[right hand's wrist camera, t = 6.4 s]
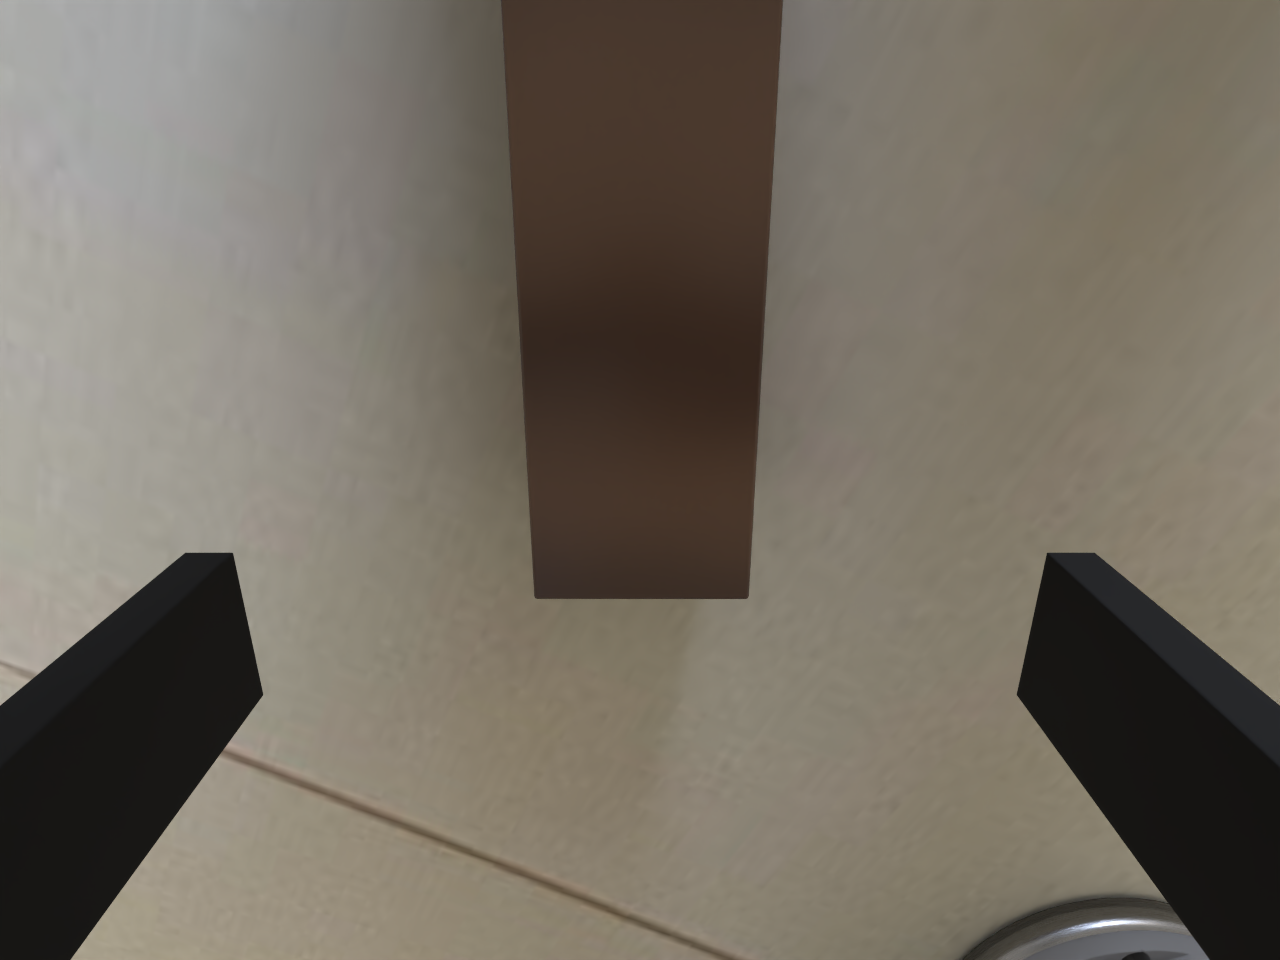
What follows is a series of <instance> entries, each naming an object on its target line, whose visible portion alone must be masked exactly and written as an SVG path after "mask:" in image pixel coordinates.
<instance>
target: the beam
mask: <svg viewBox="0 0 1280 960" xmlns="http://www.w3.org/2000/svg"><path fill="white" fill-rule="evenodd" d="M501 7H502V25H503V43H504V61H505V79H506V97H507V115H508V133H509V151H510V169H511V186H512V204H513V222H514V240H515V258H516V276H517V294H518V312H519V330H520V348H521V365H522V383H523V401H524V419H525V437H526V455H527V473H528V491H529V509H530V527H531V545H532V562H533V580H534V596H535V598H537V599H747V598H748V596H749V582H750V564H751V547H752V529H753V512H754V495H755V477H756V460H757V442H758V425H759V408H760V390H761V373H762V355H763V338H764V321H765V303H766V286H767V268H768V251H769V233H770V216H771V199H772V181H773V164H774V146H775V129H776V112H777V94H778V77H779V59H780V42H781V25H782V7H783V0H501Z"/></svg>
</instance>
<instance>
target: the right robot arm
mask: <svg viewBox="0 0 1280 960" xmlns="http://www.w3.org/2000/svg"><path fill="white" fill-rule="evenodd" d="M262 696H263V691H262V687H261V682H260V677H259V673H258V668H257V663H256V659H255V654H254V649H253V645H252V640H251V635H250V631H249V626H248V621H247V617H246V612H245V607H244V603H243V598H242V593H241V589H240V584H239V579H238V575H237V570H236V565H235V561H234V556H233V553H185V554H183V555H182V556H181V557H180V558H179V559H177V560H176V561H175V562H174V563H172V564H171V565H170V566H169V567H168V568H166V569H165V570H164V571H163V572H162V573H160V574H159V575H158V576H157V577H156V578H154V579H153V580H152V581H151V582H149V583H148V584H147V585H146V586H145V587H143V588H142V589H141V590H140V591H139V592H137V593H136V594H135V595H134V596H133V597H131V598H130V599H129V600H128V601H126V602H125V603H124V604H123V605H122V606H120V607H119V608H118V609H117V610H116V611H114V612H113V613H112V614H111V615H110V616H108V617H107V618H106V619H105V620H103V621H102V622H101V623H100V624H99V625H97V626H96V627H95V628H94V629H93V630H91V631H90V632H89V633H88V634H86V635H85V636H84V637H83V638H82V639H80V640H79V641H78V642H77V643H76V644H74V645H73V646H72V647H71V648H70V649H68V650H67V651H66V652H65V653H63V654H62V655H61V656H60V657H59V658H57V659H56V660H55V661H54V662H53V663H51V664H50V665H49V666H48V667H47V668H45V669H44V670H43V671H42V672H40V673H39V674H38V675H37V676H36V677H34V678H33V679H32V680H31V681H30V682H28V683H27V684H26V685H25V686H24V687H22V688H21V689H20V690H19V691H17V692H16V693H15V694H14V695H13V696H11V697H10V698H9V699H8V700H7V701H5V702H4V703H3V704H2V705H1V706H0V960H71V958H72V957H73V955H74V954H75V953H76V951H77V950H78V949H79V947H80V946H81V944H82V943H83V942H84V940H85V939H86V938H87V936H88V935H89V933H90V932H91V931H92V929H93V928H94V927H95V925H96V924H97V922H98V921H99V920H100V918H101V917H102V916H103V914H104V913H105V911H106V910H107V909H108V907H109V906H110V905H111V903H112V902H113V900H114V899H115V898H116V896H117V895H118V894H119V892H120V891H121V889H122V888H123V887H124V885H125V884H126V883H127V881H128V880H129V879H130V877H131V876H132V874H133V873H134V872H135V870H136V869H137V868H138V866H139V865H140V863H141V862H142V861H143V859H144V858H145V857H146V855H147V854H148V852H149V851H150V850H151V848H152V847H153V846H154V844H155V843H156V841H157V840H158V839H159V837H160V836H161V835H162V833H163V832H164V830H165V829H166V828H167V826H168V825H169V824H170V822H171V821H172V819H173V818H174V817H175V815H176V814H177V813H178V811H179V810H180V808H181V807H182V806H183V804H184V803H185V802H186V800H187V799H188V797H189V796H190V795H191V793H192V792H193V791H194V789H195V788H196V786H197V785H198V784H199V782H200V781H201V780H202V778H203V777H204V775H205V774H206V773H207V771H208V770H209V769H210V767H211V766H212V765H213V763H214V762H215V760H216V759H217V758H218V756H219V755H220V754H221V752H222V751H223V749H224V748H225V747H226V745H227V744H228V743H229V741H230V740H231V738H232V737H233V736H234V734H235V733H236V732H237V730H238V729H239V727H240V726H241V725H242V723H243V722H244V721H245V719H246V718H247V716H248V715H249V714H250V712H251V711H252V710H253V708H254V707H255V705H256V704H257V703H258V701H259V700H260V699H261V697H262ZM1017 696H1018V697H1019V699H1020V700H1021V701H1022V703H1023V704H1024V705H1025V707H1026V708H1027V710H1028V711H1029V712H1030V714H1031V715H1032V716H1033V718H1034V719H1035V721H1036V722H1037V723H1038V725H1039V726H1040V727H1041V729H1042V730H1043V732H1044V733H1045V734H1046V736H1047V737H1048V738H1049V740H1050V741H1051V743H1052V744H1053V745H1054V747H1055V748H1056V749H1057V751H1058V752H1059V754H1060V755H1061V756H1062V758H1063V759H1064V760H1065V762H1066V763H1067V765H1068V766H1069V767H1070V769H1071V770H1072V771H1073V773H1074V774H1075V775H1076V777H1077V778H1078V780H1079V781H1080V782H1081V784H1082V785H1083V786H1084V788H1085V789H1086V791H1087V792H1088V793H1089V795H1090V796H1091V797H1092V799H1093V800H1094V802H1095V803H1096V804H1097V806H1098V807H1099V808H1100V810H1101V811H1102V813H1103V814H1104V815H1105V817H1106V818H1107V819H1108V821H1109V822H1110V824H1111V825H1112V826H1113V828H1114V829H1115V830H1116V832H1117V833H1118V835H1119V836H1120V837H1121V839H1122V840H1123V841H1124V843H1125V844H1126V846H1127V847H1128V848H1129V850H1130V851H1131V852H1132V854H1133V855H1134V857H1135V858H1136V859H1137V861H1138V862H1139V863H1140V865H1141V866H1142V868H1143V869H1144V870H1145V872H1146V873H1147V874H1148V876H1149V877H1150V879H1151V880H1152V881H1153V883H1154V884H1155V885H1156V887H1157V888H1158V889H1159V891H1160V892H1161V894H1162V895H1163V896H1164V898H1165V899H1166V900H1167V902H1168V903H1169V904H1168V903H1164V902H1159V901H1154V900H1146V899H1137V898H1104V899H1094V900H1086V901H1080V902H1074V903H1070V904H1066V905H1061V906H1057V907H1054V908H1051V909H1047V910H1044V911H1041V912H1039V913H1036V914H1033V915H1031V916H1028V917H1026V918H1024V919H1022V920H1019V921H1017V922H1015V923H1013V924H1011V925H1009V926H1007V927H1006V928H1004V929H1002V930H1000V931H999V932H997V933H996V934H994V935H993V936H991V937H990V938H988V939H986V940H985V941H984V942H983V943H981V944H980V945H979V946H977V947H976V948H975V949H974V950H973V951H972V952H971V953H970V954H968V955H967V956H966V957H965V958H964V959H963V960H1280V706H1279V705H1278V704H1277V703H1276V702H1275V701H1273V700H1272V699H1271V698H1270V697H1269V696H1267V695H1266V694H1265V693H1264V692H1263V691H1261V690H1260V689H1259V688H1258V687H1256V686H1255V685H1254V684H1253V683H1252V682H1250V681H1249V680H1248V679H1247V678H1246V677H1244V676H1243V675H1242V674H1241V673H1240V672H1238V671H1237V670H1236V669H1235V668H1233V667H1232V666H1231V665H1230V664H1229V663H1227V662H1226V661H1225V660H1224V659H1223V658H1221V657H1220V656H1219V655H1218V654H1217V653H1215V652H1214V651H1213V650H1212V649H1210V648H1209V647H1208V646H1207V645H1206V644H1204V643H1203V642H1202V641H1201V640H1200V639H1198V638H1197V637H1196V636H1195V635H1194V634H1192V633H1191V632H1190V631H1189V630H1187V629H1186V628H1185V627H1184V626H1183V625H1181V624H1180V623H1179V622H1178V621H1177V620H1175V619H1174V618H1173V617H1172V616H1170V615H1169V614H1168V613H1167V612H1166V611H1164V610H1163V609H1162V608H1161V607H1160V606H1158V605H1157V604H1156V603H1155V602H1154V601H1152V600H1151V599H1150V598H1149V597H1147V596H1146V595H1145V594H1144V593H1143V592H1141V591H1140V590H1139V589H1138V588H1137V587H1135V586H1134V585H1133V584H1132V583H1131V582H1129V581H1128V580H1127V579H1126V578H1124V577H1123V576H1122V575H1121V574H1120V573H1118V572H1117V571H1116V570H1115V569H1114V568H1112V567H1111V566H1110V565H1109V564H1108V563H1106V562H1105V561H1104V560H1103V559H1101V558H1100V557H1099V556H1098V555H1097V554H1095V553H1047V556H1046V561H1045V565H1044V570H1043V575H1042V579H1041V584H1040V589H1039V593H1038V598H1037V603H1036V607H1035V612H1034V617H1033V621H1032V626H1031V631H1030V635H1029V640H1028V645H1027V649H1026V654H1025V659H1024V663H1023V668H1022V673H1021V677H1020V682H1019V687H1018V691H1017Z"/></svg>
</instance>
